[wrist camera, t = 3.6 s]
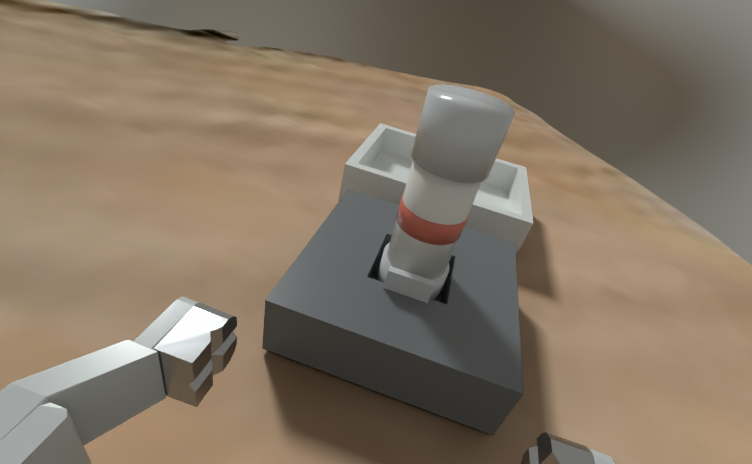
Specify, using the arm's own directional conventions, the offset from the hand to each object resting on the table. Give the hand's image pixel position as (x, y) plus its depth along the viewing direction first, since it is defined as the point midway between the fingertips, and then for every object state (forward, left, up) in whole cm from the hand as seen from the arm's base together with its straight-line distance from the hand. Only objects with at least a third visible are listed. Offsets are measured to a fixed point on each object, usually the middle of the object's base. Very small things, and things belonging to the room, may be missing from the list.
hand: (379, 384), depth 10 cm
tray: (0, +26, -8) cm, 28 cm away
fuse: (0, +12, -7) cm, 14 cm away
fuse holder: (0, +12, -8) cm, 14 cm away
